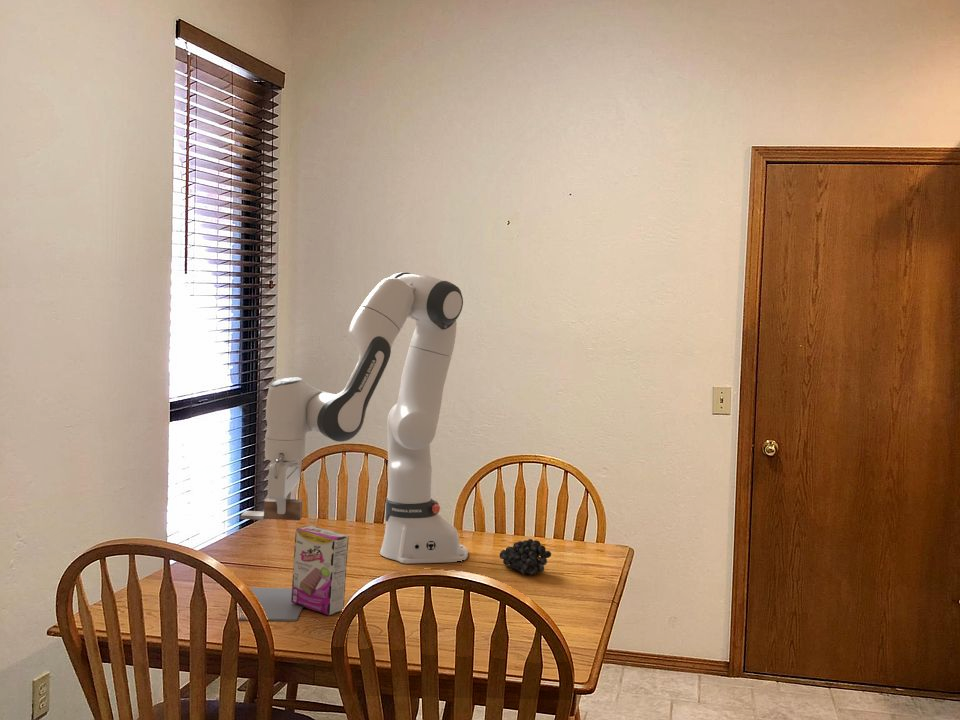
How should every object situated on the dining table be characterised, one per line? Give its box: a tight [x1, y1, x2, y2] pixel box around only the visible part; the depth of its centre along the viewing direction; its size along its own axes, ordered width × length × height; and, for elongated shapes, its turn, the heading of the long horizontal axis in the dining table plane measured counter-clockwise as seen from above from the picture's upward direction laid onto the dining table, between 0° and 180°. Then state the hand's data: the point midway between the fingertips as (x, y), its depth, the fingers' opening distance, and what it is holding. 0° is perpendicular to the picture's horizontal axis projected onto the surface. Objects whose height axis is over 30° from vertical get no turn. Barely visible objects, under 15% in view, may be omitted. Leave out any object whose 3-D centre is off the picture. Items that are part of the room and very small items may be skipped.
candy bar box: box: [291, 525, 349, 616], centre depth 208 cm, size 11×5×16 cm, turn 57°
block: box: [240, 497, 303, 521], centre depth 221 cm, size 13×4×4 cm, turn 91°
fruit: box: [499, 538, 552, 576], centre depth 242 cm, size 9×8×15 cm
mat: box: [238, 587, 304, 622], centre depth 211 cm, size 14×20×1 cm
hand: (283, 511), depth 221 cm, fingers closed on block, 3 cm apart
